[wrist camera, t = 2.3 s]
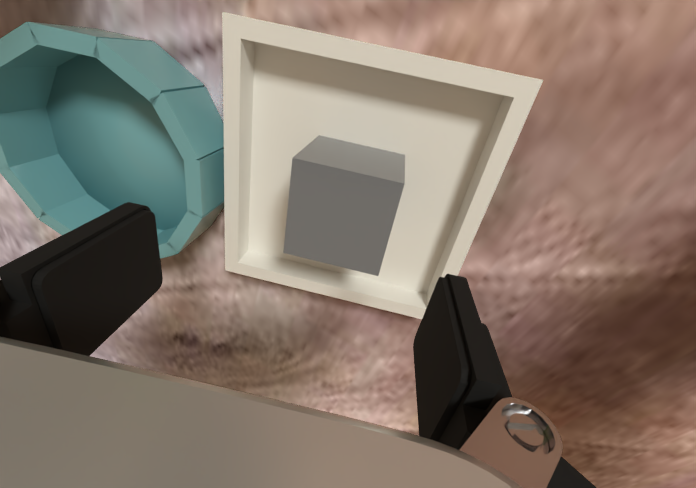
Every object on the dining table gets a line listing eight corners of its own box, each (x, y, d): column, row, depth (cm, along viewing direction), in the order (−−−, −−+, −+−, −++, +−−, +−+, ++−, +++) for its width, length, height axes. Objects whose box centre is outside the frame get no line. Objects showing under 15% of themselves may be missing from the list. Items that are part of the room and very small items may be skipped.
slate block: (405, 154, 17) (404, 183, 13) (384, 231, 19) (378, 276, 15) (319, 135, 17) (292, 157, 13) (308, 213, 19) (283, 253, 15)
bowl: (233, 58, 16) (194, 58, 13) (232, 251, 22) (205, 282, 19) (18, 11, 17) (-67, 0, 14) (72, 212, 23) (21, 235, 20)
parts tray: (525, 77, 15) (543, 80, 13) (434, 298, 22) (436, 323, 20) (246, 18, 15) (222, 12, 13) (241, 251, 22) (224, 270, 20)
